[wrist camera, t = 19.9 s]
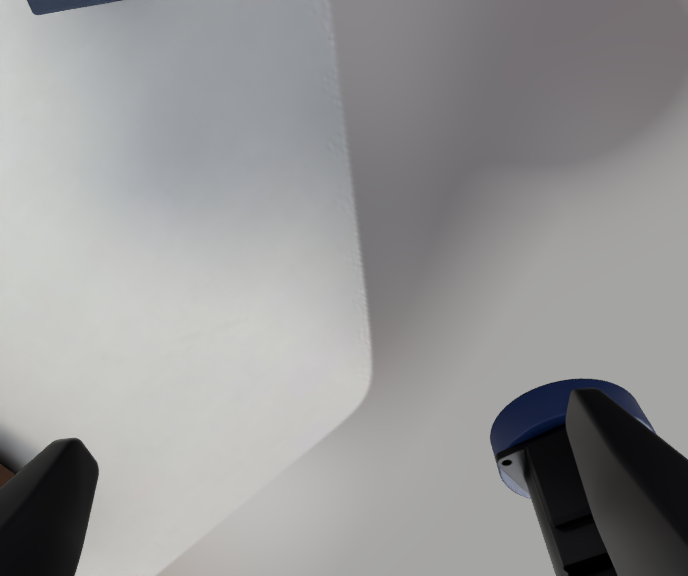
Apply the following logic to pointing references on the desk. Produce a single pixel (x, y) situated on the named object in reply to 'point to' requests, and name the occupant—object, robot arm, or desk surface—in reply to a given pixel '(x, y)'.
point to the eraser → (61, 5)
